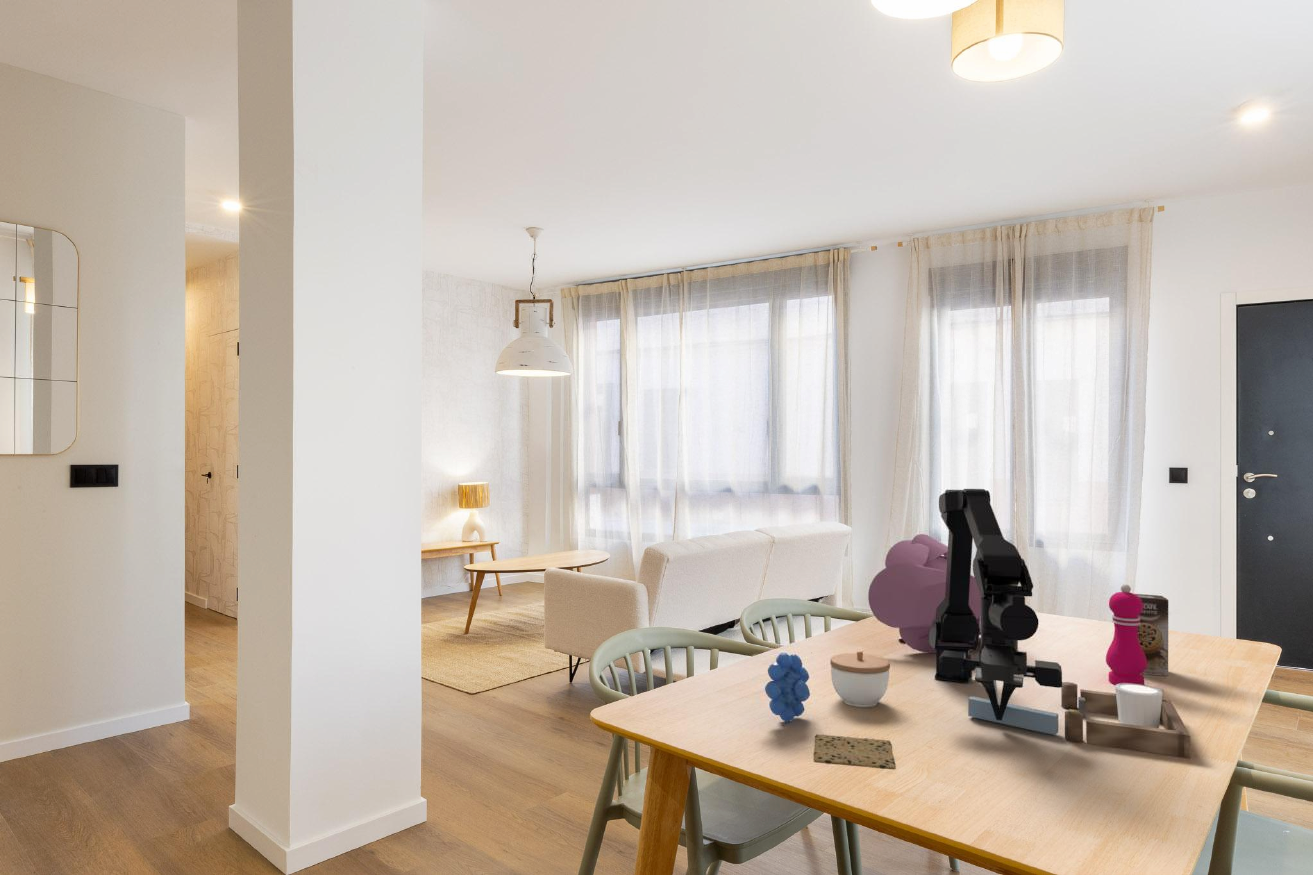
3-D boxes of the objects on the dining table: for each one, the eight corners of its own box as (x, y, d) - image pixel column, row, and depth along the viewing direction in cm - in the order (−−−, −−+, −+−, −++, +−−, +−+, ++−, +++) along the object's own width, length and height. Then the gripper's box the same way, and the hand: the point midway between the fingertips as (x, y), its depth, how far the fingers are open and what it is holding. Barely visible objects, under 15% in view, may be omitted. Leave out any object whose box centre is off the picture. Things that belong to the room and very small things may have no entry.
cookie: (891, 743, 126) (891, 737, 126) (896, 772, 115) (896, 765, 115) (814, 736, 129) (815, 730, 129) (813, 764, 117) (813, 758, 117)
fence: (1065, 740, 127) (1064, 712, 127) (1061, 704, 146) (1061, 679, 146) (1191, 759, 119) (1190, 728, 119) (1169, 718, 138) (1169, 691, 138)
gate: (1055, 734, 128) (1055, 716, 128) (968, 715, 137) (968, 698, 137) (1058, 732, 130) (1058, 713, 130) (971, 713, 139) (971, 696, 139)
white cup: (1105, 723, 135) (1105, 682, 135) (1143, 722, 136) (1143, 682, 136) (1133, 738, 128) (1133, 694, 128) (1172, 737, 129) (1172, 694, 129)
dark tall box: (1119, 671, 168) (1119, 596, 169) (1114, 664, 174) (1114, 591, 175) (1169, 676, 165) (1169, 599, 165) (1163, 668, 171) (1162, 594, 171)
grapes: (789, 736, 128) (789, 662, 128) (755, 726, 132) (756, 654, 133) (827, 719, 136) (827, 649, 136) (794, 710, 141) (795, 643, 141)
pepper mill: (1153, 689, 155) (1152, 588, 156) (1113, 687, 157) (1112, 586, 157) (1138, 679, 162) (1138, 582, 163) (1100, 677, 164) (1100, 580, 164)
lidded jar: (837, 690, 153) (837, 642, 154) (894, 698, 149) (894, 648, 149) (824, 706, 144) (824, 654, 144) (884, 714, 139) (884, 661, 139)
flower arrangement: (923, 645, 211) (906, 540, 217) (1017, 640, 198) (996, 528, 204) (875, 658, 183) (856, 537, 190) (979, 653, 170) (956, 523, 176)
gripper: (934, 630, 129) (934, 725, 129) (1063, 642, 121) (1063, 745, 120) (942, 617, 139) (942, 706, 139) (1061, 628, 131) (1061, 722, 131)
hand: (999, 719), depth 132 cm, fingers closed
